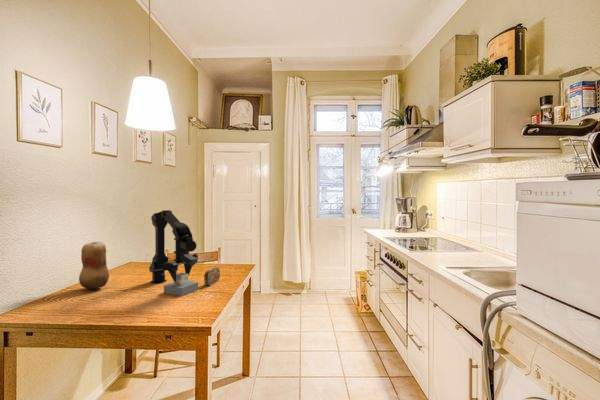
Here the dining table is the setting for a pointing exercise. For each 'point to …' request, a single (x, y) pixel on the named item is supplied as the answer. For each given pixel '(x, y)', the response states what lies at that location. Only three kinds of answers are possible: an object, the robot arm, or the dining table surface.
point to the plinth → (181, 288)
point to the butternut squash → (94, 266)
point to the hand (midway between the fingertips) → (181, 278)
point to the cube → (181, 279)
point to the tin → (211, 276)
